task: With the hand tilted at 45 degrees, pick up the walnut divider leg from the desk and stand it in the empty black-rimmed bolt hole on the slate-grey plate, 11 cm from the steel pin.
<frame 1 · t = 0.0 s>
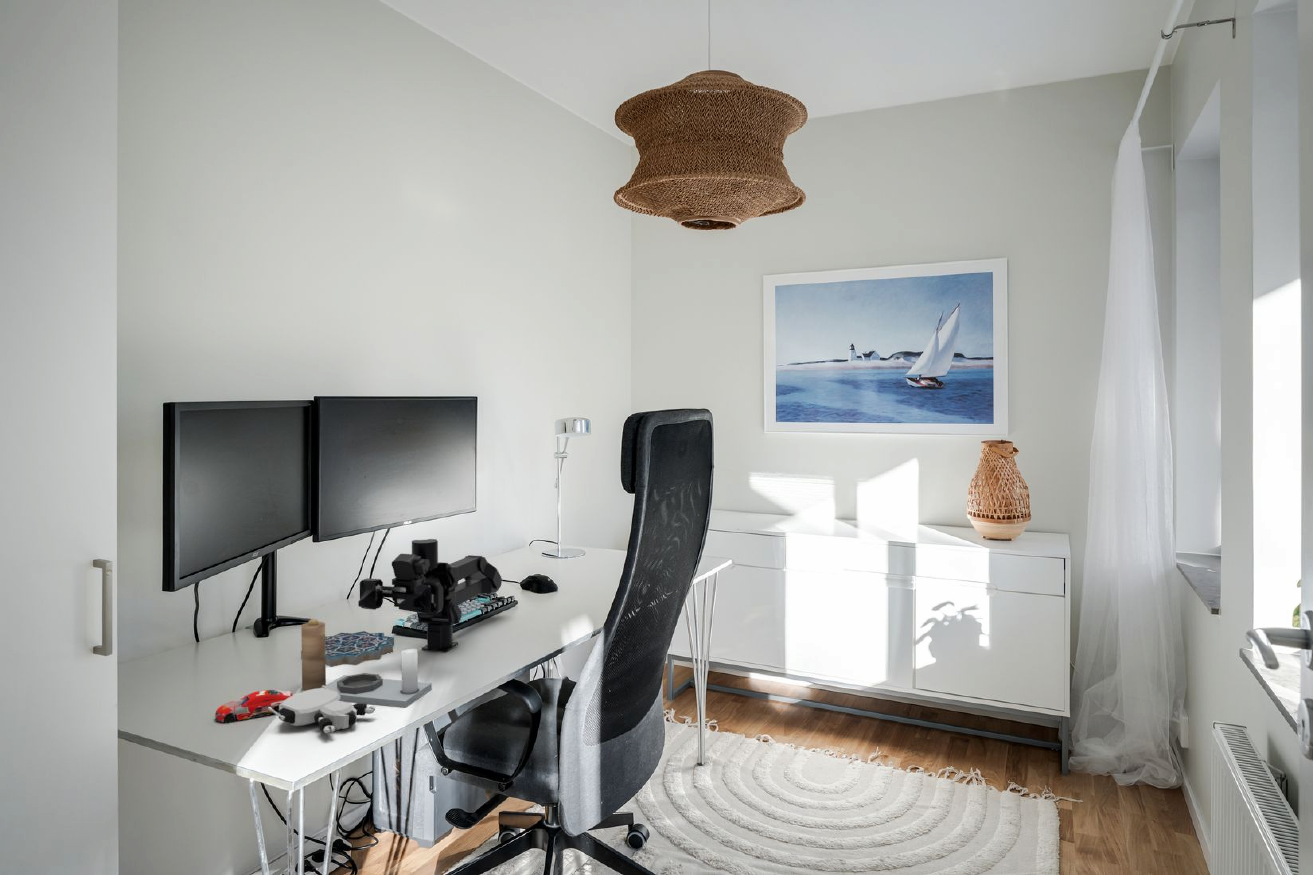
hand: (379, 605, 160), 17 cm above the table, tool horizontal, fingers open, 9 cm apart
decorative tile: (348, 654, 182), on the table
robot toy: (323, 725, 141), on the table
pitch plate: (373, 693, 156), on the table
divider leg: (314, 687, 159), on the table
race car: (256, 715, 145), on the table
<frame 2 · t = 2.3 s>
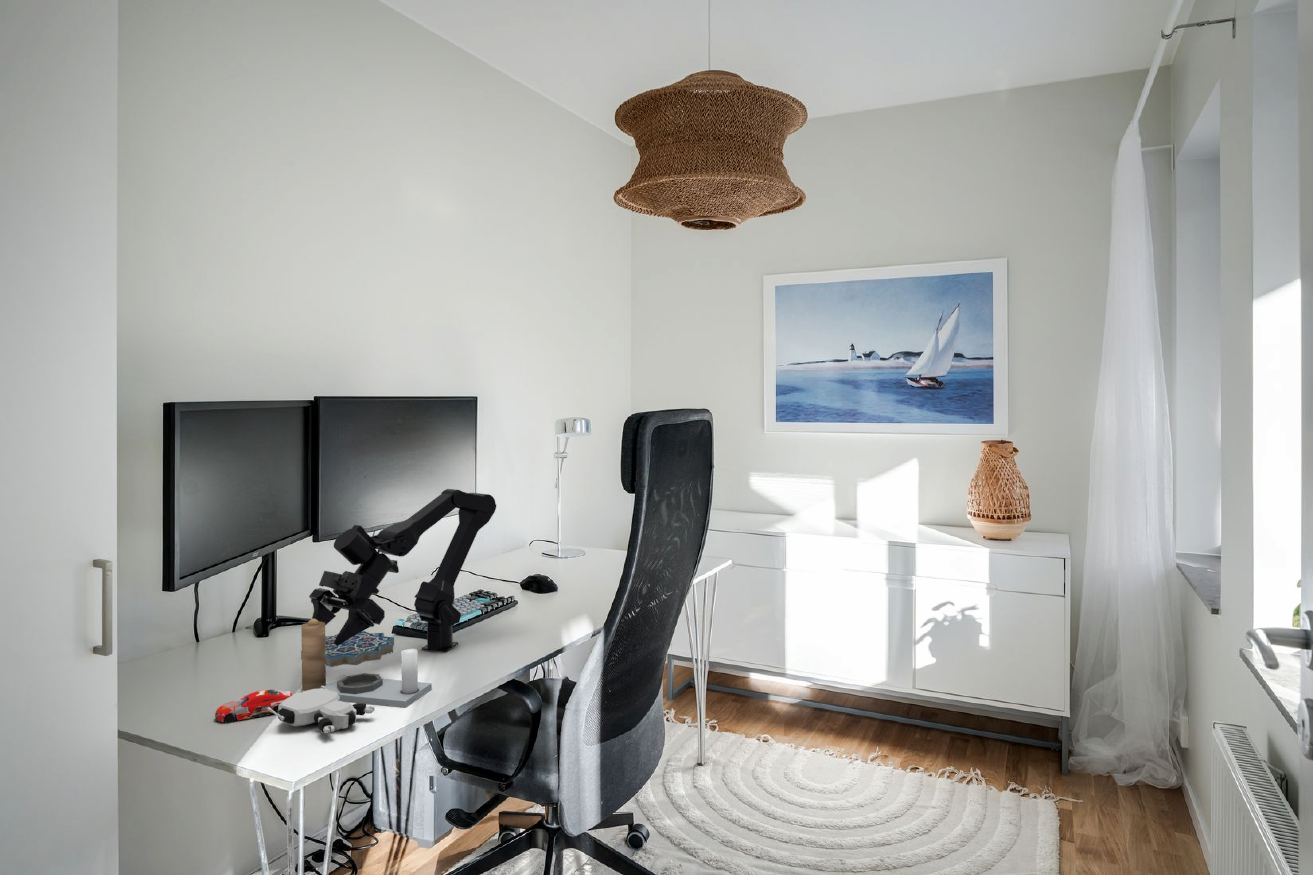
hand: (321, 640, 160), 9 cm above the table, tool tilted 45°, fingers open, 9 cm apart
nothing on the table moved.
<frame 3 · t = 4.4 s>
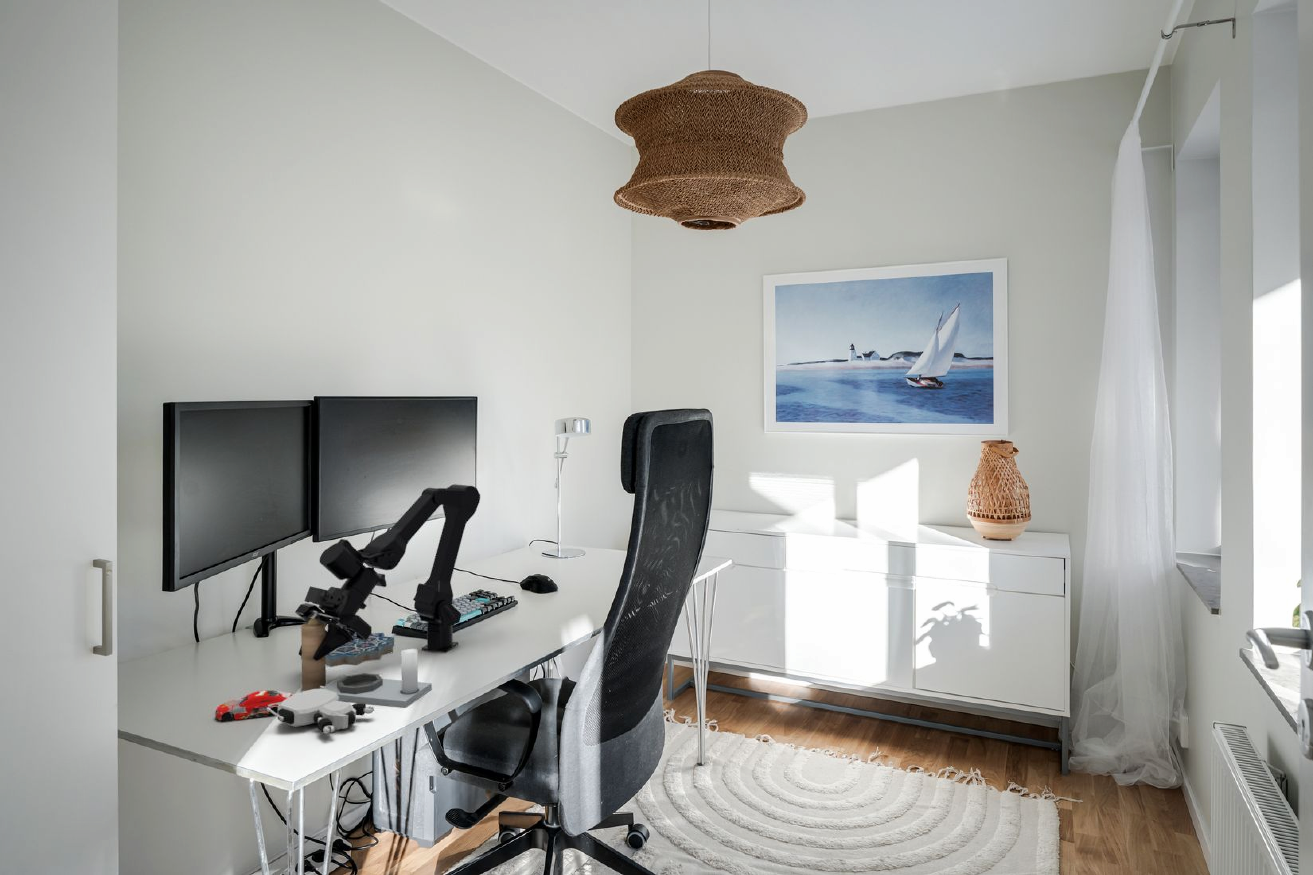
hand: (307, 657, 157), 7 cm above the table, tool tilted 45°, fingers closed on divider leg, 4 cm apart
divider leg: (314, 687, 159), on the table, touching gripper
everything else where it was.
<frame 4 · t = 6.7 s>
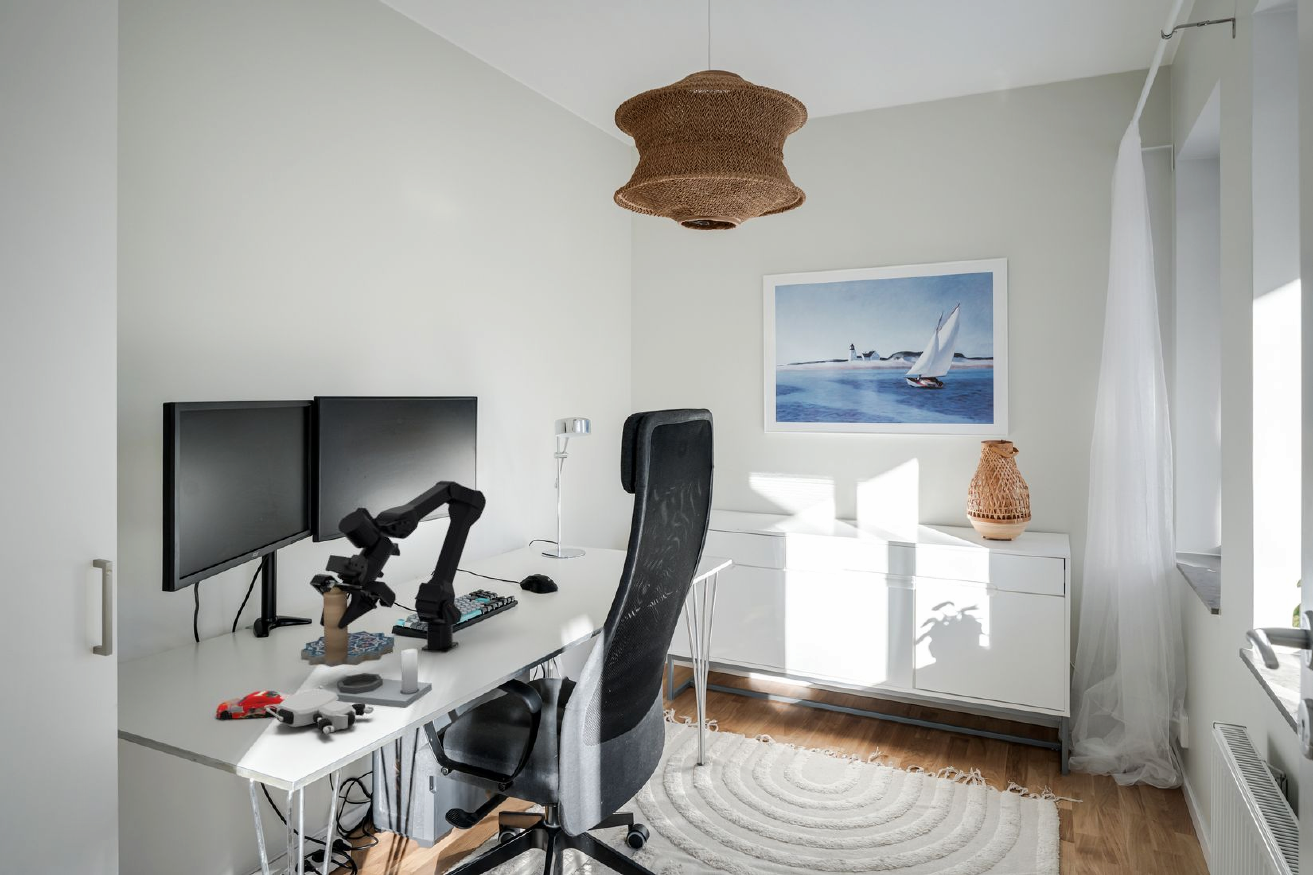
hand: (330, 626, 155), 13 cm above the table, tool tilted 45°, fingers closed on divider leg, 4 cm apart
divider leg: (336, 657, 157), point 7 cm above the table, touching gripper
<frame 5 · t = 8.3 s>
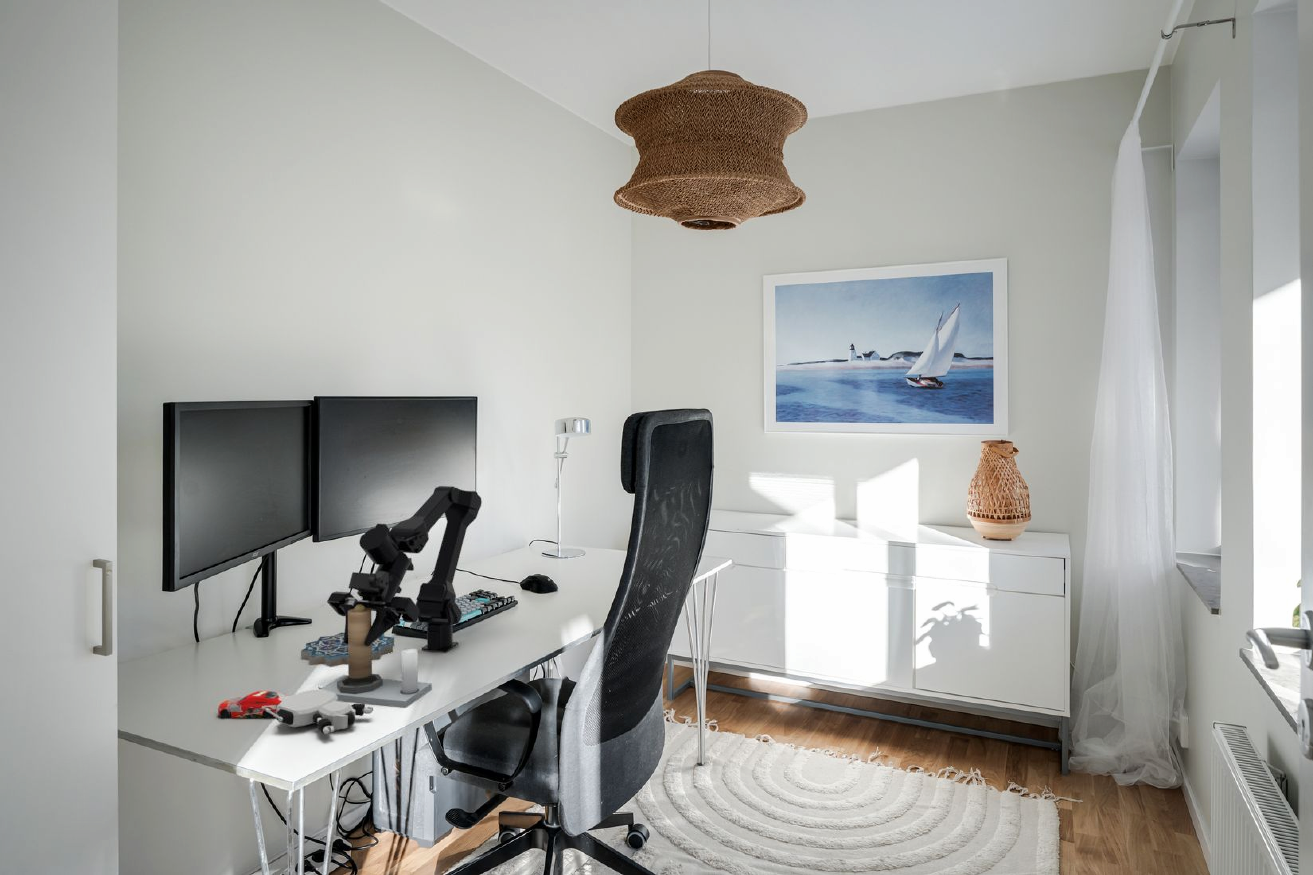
hand: (355, 644, 155), 10 cm above the table, tool tilted 45°, fingers closed on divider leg, 4 cm apart
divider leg: (360, 674, 156), point 4 cm above the table, touching gripper
when the fingers open (8 cm above the table, at t = 9.4 s): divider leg stays where it is, resting on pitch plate.
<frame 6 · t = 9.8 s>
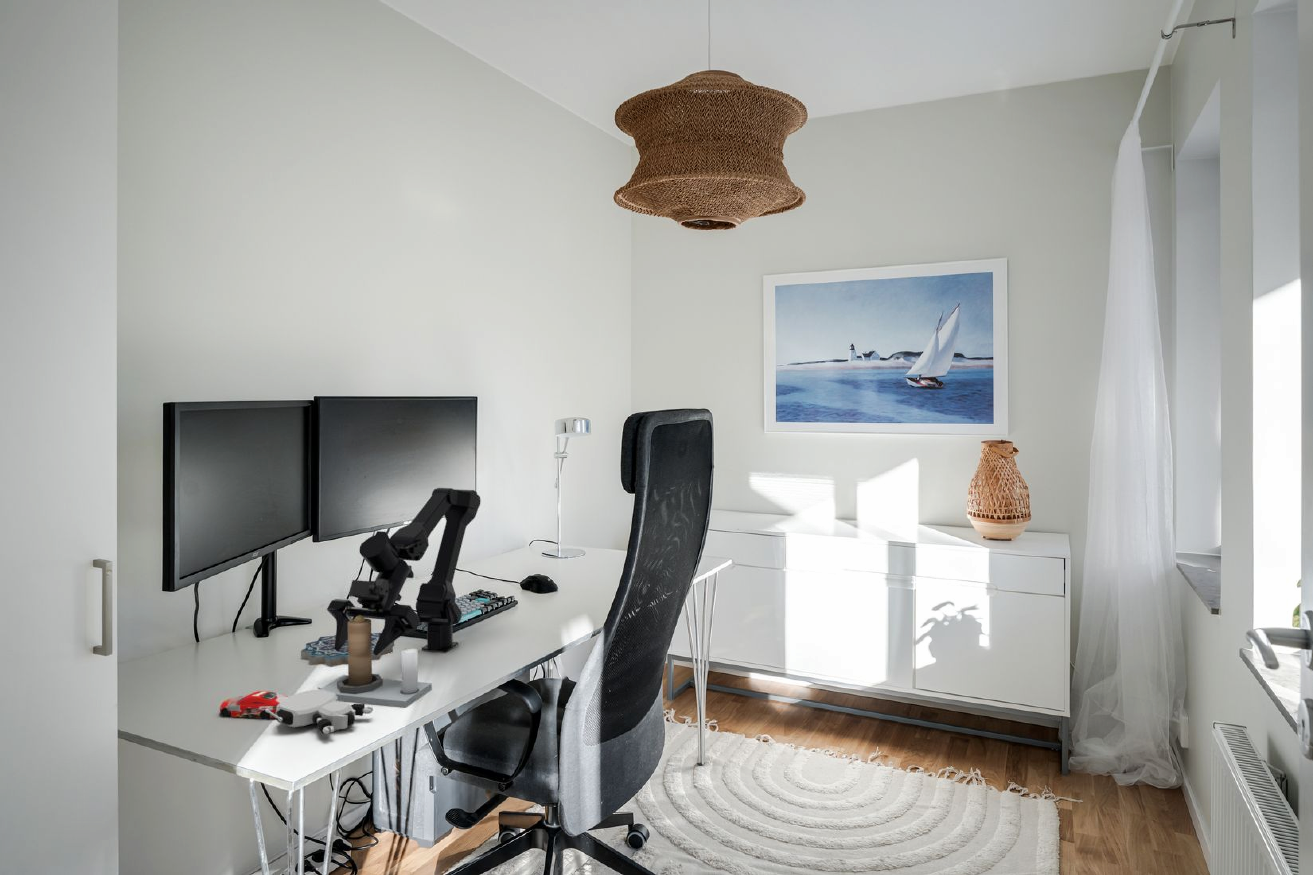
hand: (355, 652, 155), 9 cm above the table, tool tilted 45°, fingers open, 9 cm apart
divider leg: (360, 685, 156), point 1 cm above the table, touching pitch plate
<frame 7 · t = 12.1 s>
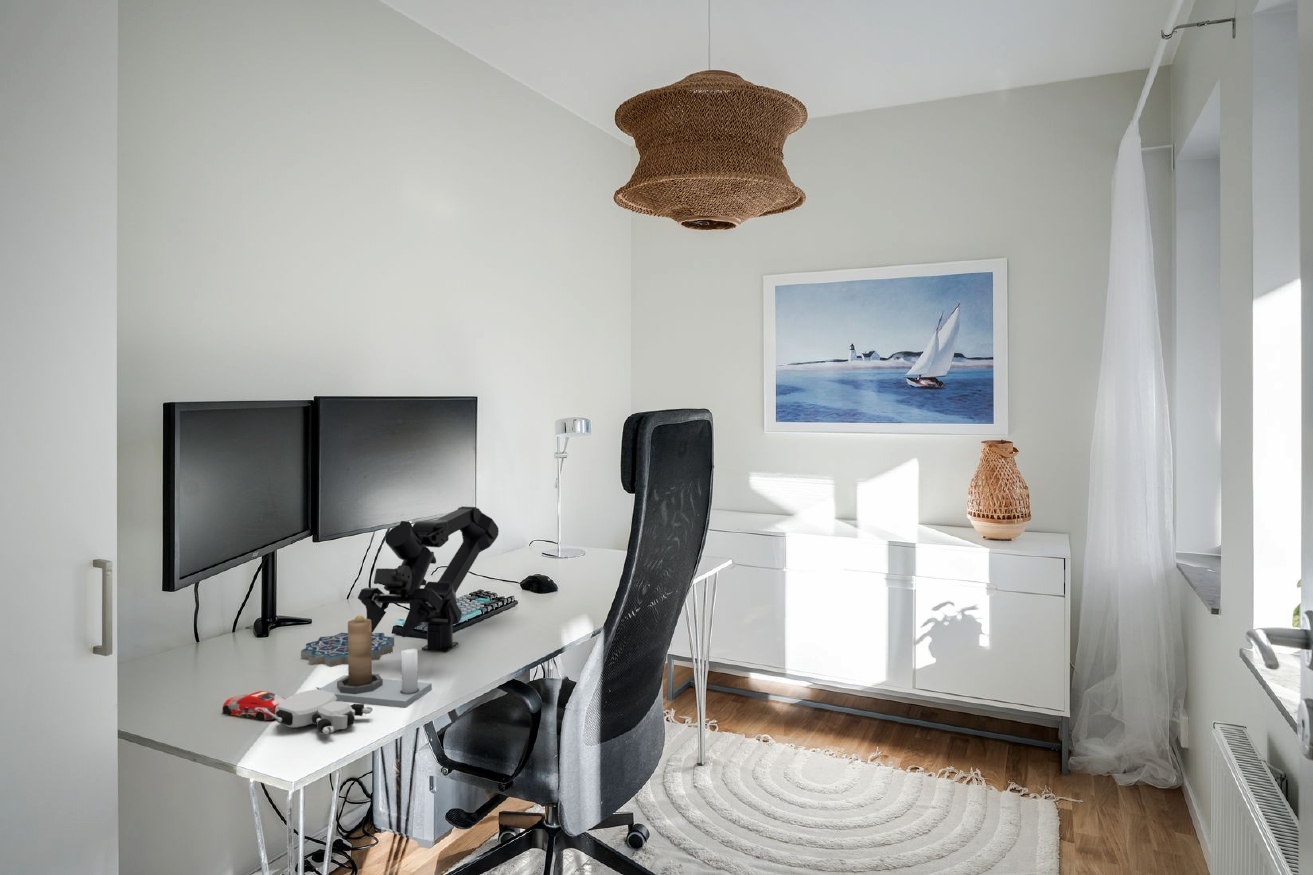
hand: (384, 635, 164), 9 cm above the table, tool tilted 40°, fingers open, 9 cm apart
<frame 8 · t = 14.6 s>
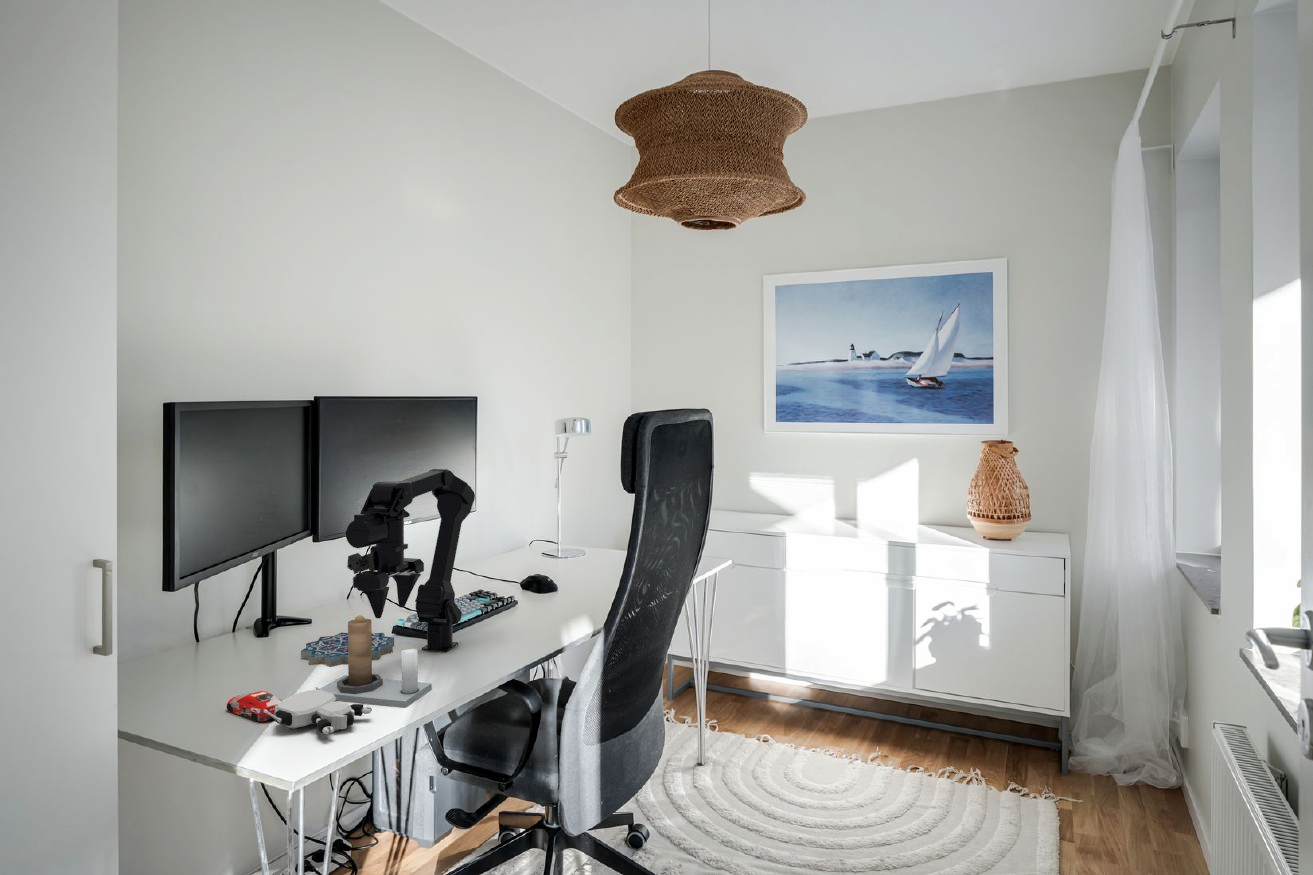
hand: (390, 612, 168), 13 cm above the table, tool pointing down, fingers open, 9 cm apart
at the end: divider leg 0.1 cm from the target spot on the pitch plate, point 1.3 cm above the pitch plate's base; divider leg tilted 0°; the gripper is holding nothing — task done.
